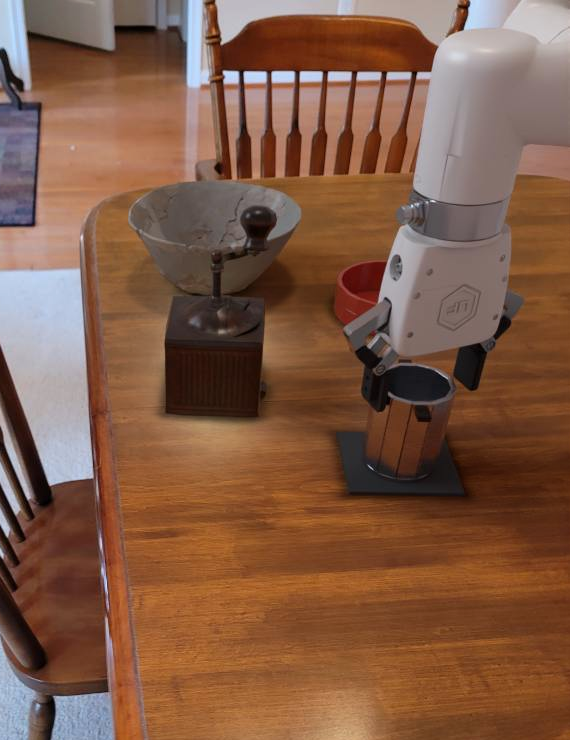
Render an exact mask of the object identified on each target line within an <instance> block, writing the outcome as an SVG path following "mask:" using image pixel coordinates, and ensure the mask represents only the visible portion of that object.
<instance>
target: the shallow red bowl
mask: <svg viewBox="0 0 570 740" xmlns="http://www.w3.org/2000/svg"><path fill="white" fill-rule="evenodd" d="M387 262H388V259H387V260H385V259H383V260H382V259H378V260H377V259H373V260H367V261H366V260H365V261H360V262H356V263H354V264H351V265H348V266H347V267H345V268H344V269H343V270H341V271H340V272H339V275H338V277H337V280H336V287H335V294H334V302H333V312H334V315H335V317H336V318H337V320H339V322H341V323H342V324H343V325H345V326H346V325H348V324H349V323H351V322H352V321H354V320H355V319H357V318H358V317H360V316H361V315H362V314H364V313H365V312H367V311H368V310H370V309H371V308H373V307H374V306H376V305H377V304H378V299H379V294H380V289H381V285H382V280H383V277H384V273H385V269H386V266H387ZM369 335H370V336H374V337H375V336H376V335H377V334H376V332H375V330H374V331H373V332H371V333H370V334H369Z"/></svg>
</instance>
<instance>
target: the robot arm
mask: <svg viewBox="0 0 570 740" xmlns="http://www.w3.org/2000/svg"><path fill="white" fill-rule="evenodd" d="M529 145H534V146H535V145H539V146H552V147H553V146H554V147H562V148H570V0H520V2H518V4H517V5H516V6H515V8H514V9H512V11H511V13H510V14H509V15H508V17H507V18H506V19H505V22H504V23H503V25H502V26H501V28H499V27H479V28H478V27H477V28H469V29H463V30H460V31H457V32H454V33H452V34H450V35H448V36H447V37H445V38H444V39H443V40H442V41H441V43H440V44H439V46H438V47H437V49H436V51H435V54H434V57H433V62H432V67H431V71H430V78H429V85H428V89H427V96H426V102H425V108H424V115H423V120H422V126H421V132H420V139H419V144H418V149H417V156H416V162H415V168H414V173H413V174H414V175H413V181H412V187H411V190H410V193H409V198H408V202H407V203H406V204H405V205H399V206H398V207H397V208H396V211H395V219H396V221H397V223H398V224H399V225H401V226H399V229H398V230H397V234H396V236H395V238H394V241H393V244H392V247H391V250H390V252H389V256H388V258H387V260H388V262H387V266H386V269H385V273H384V277H383V280H382V285H381V289H380V294H379V299H378V304H377V305H376V306H374V307H373V308H371V309H370V310H368V311H367V312H365V313H364V314H362V315H361V316H360V317H358V318H357V319H355V320H354V321H352V322H351V323H349V324H348V325H345V326H344V327H343V328H342V335H343V336H344V339H345V341H346V344H347V345H348V347H349V351H350V352H351V353H352V354H353V355H354V357H356V358H357V359H358V360H359V361H360V362H361V363H362V364H363V365H364V367H363V375H362V381H361V388H360V394H361V397H362V398H363V400H365V401H366V402H367V403H368V405H369V406H370V405H371V406H372V407H373V409H374V410H375V411H376V412H382V411H384V410H385V408H386V403H387V397H388V392H389V386H390V380H391V375H390V373H389V372H388V371H387V369H388V368H389V367H390V366H391V365H393V364H395V362H396V360H397V359H398V358H399V357H402V358H417V357H421V356H426V355H430V354H431V355H432V354H435V353H441V352H446V351H449V350H455V349H458V350H457V355H456V359H455V362H454V363H455V364H454V367H453V372H452V376H453V378H455V380H456V381H458V382H459V383H460V384H461V385H462V386H463V387H464V388H466V389H467V390H468V391H470V392H475V391H477V390H478V389H479V386H480V382H481V378H482V374H483V371H484V367H485V364H486V359H487V355H488V353H490V352H492V351H493V350H494V349H495V348H496V347H497V343H498V342H497V341H498V339H499V338H500V337H501V336H503V334H504V333H506V332H507V330H508V329H509V328H510V327H511V326H512V319H514V318H515V317H516V315H517V314H518V313H519V311H520V310H521V308H522V307H523V306H524V304H525V302H526V298H525V296H523V295H521V294H520V293H519V292H518V291H516V290H514V289H511V288H509V287H508V283H509V276H510V268H511V258H512V227H511V226H510V225H509V224H508V223H506V219H507V215H508V210H509V206H510V202H511V198H512V195H513V191H514V187H515V183H516V179H517V175H518V170H519V168H520V167H519V166H520V163H521V159H522V154H523V151H524V148H525V147H526V146H529ZM374 330H375V332H376V334H377V335H376V336H374V337H373V338H372V339H371V340H370V342H369V343H368V344H367V340H366V339H367V337H368V336H369V335H370V333H371V332H373V331H374ZM387 345H388V347H386V346H387ZM385 347H386V349H385V350H384V351H383V353H382V354H381V355H380V356H378V355H379V353H380V352H382V350H383V349H384V348H385Z"/></svg>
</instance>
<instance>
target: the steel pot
mask: <svg viewBox="0 0 570 740" xmlns="http://www.w3.org/2000/svg"><path fill="white" fill-rule="evenodd" d="M387 371H388V372H389V373H390V375H391V380H390V386H389V392H388V397H387V403H386V408H385V410H384V411H382V412H376V411H375V410H374V409H373V407H372V406H371V405H370V404H369V408H368V414H367V419H366V423H365V429H364V432H365V434H364V439H363V445H362V450H361V451H362V456H361V457H362V462H363V464H364V466H365V467H366V468H367V469H368V470H369V471H370V472H371V473H373V474H374V475H376V476H378V477H380V478H382V479H385V480H388V481H392V482H399V483H412V482H417V481H421V480H423V479H426V478H427V477H429V476H430V475H431V474H432V473H433V471H434V469H435V466H436V464H437V461H438V458H439V454H440V450H441V447H442V443H443V439H444V438H445V436H446V431H447V427H448V424H449V420H450V416H451V413H452V409H453V407H454V401H455V398H456V394H457V389H458V388H457V386H456V383H455V380H454V378H453V377H452V376H450V375H449V374H447V373H446V372H444V371H443V370H441V368H438V367H435V366H431V365H427V364H423V363H421V362H420V363H418V362H413V361H412V359H410V358H409V359H407V358H405V359H402V358H401V359H400V358H399V359H398V362H397V363H393V364H392V365H391V366H390V367H389V368H388V369H387Z"/></svg>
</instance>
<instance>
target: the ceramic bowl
mask: <svg viewBox="0 0 570 740" xmlns="http://www.w3.org/2000/svg"><path fill="white" fill-rule="evenodd" d="M253 205H262V206H267V207H269V208H270V209H271V210H273V211H274V212H275V213H276V217H277V223H276V226H275V227H274V228H273V229H272V231H271V232H270V234H269V235H268V237H267V242H268V246H269V250H267V251H262V252H260V254H257V255H256V256H255V257H254V256H252V255H247V256H245V257H242V258H239V259H235V260H229V261H226V262H224V263H223V265H224V271H223V272H222V273H221V295H230V294H235V293H237V292H240V291H242V290H245V289H246V288H247V287H249V285H251V284H252V283H254V282H255V281H256V280H257V279H258V278H259V277H261V275H263V273H264V272H265V271H266V270H267V269H268V268H269V267H270V265H272V263H273V262H274V261H275V260H276V258H277V257H278V256H279V255H280V254H281V252H282V250H283V249H284V248H285V246H286V245H287V243H288V242H289V240H290V239H291V237H292V235H293V234H294V232H295V231H296V229H297V227H298V226H299V224H300V222H301V220H302V208H301V206H299V204H298V203H297V202H296V201H295V200H294V199H293V198H292V197H289V196H288V194H286V193H284V192H282V191H280V190H277V189H274V188H269V187H265V186H263V185H259V184H252V183H247V182H240V181H231V180H212V179H203V180H195V181H193V180H192V181H181V182H175V183H172V184H165V185H163V186H159V187H157V188H154V189H152V190H149V191H148V192H146V193H145V194H143V195H142V196H141V197H139V198H138V199H137V200H136V201H135V202H134V203H133V204H132V205H131V207H130V208H129V212H128V216H127V220H128V221H127V222H128V224H129V226H130V228H131V229H132V231H133V232H134V233H135V234H136V236H137V237H138V238H139V239H140V240H141V242H142V243H143V245H144V247H145V248H146V250H147V252H148V253H149V255H150V256H151V258H152V260H153V262H154V264H155V266H156V267H157V270H158V272H159V274H160V275H161V276H162V277H163V278H164V279H166V280H167V281H169V283H171V284H173V285H174V286H175V287H177V288H179V289H180V290H181V291H183V292H186V293H189V294H198V295H201V296H211V295H212V272H210V268H211V267H210V264H211V263H212V261H211V258H210V255H211V253H212V252H213V251H215V250H220V251H222V253H223V254H224V253H230V252H236V251H241V250H244V249H243V245H244V244H245V241H246V238H247V236H246V233H245V230H244V229H243V227H242V225H241V224H240V216H241V214H242V212H243V211H244V210H245V209H247V208H249V207H250V206H253Z"/></svg>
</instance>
